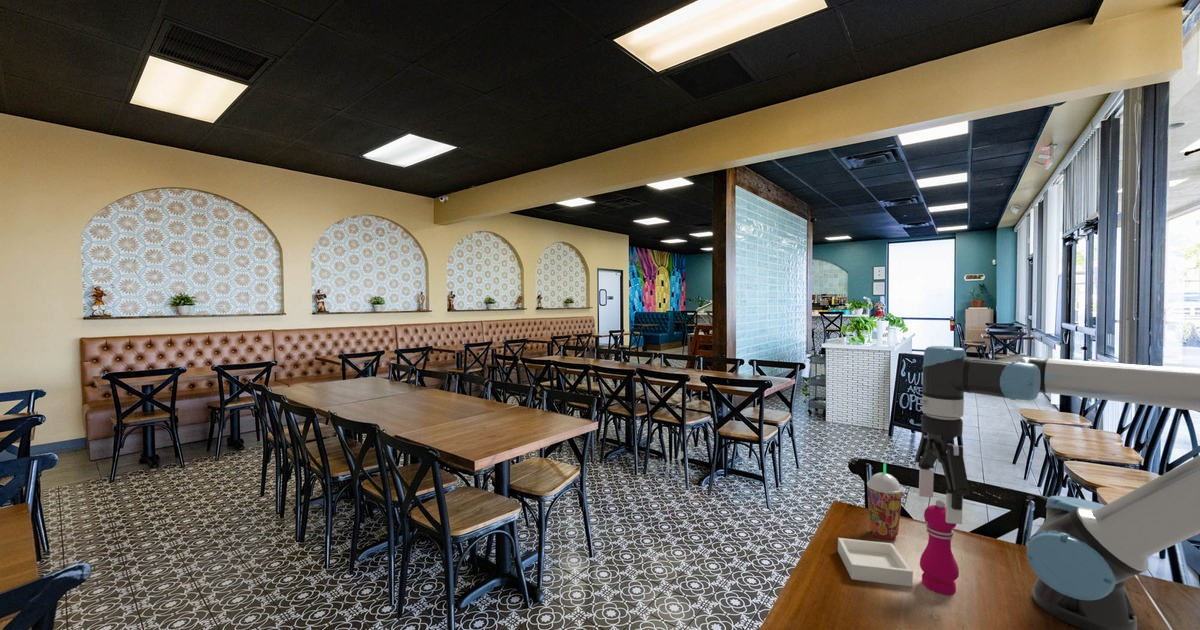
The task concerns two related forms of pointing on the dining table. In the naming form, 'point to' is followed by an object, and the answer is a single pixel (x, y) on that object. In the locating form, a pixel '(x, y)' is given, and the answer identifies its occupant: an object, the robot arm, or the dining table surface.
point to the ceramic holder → (874, 562)
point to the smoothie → (884, 505)
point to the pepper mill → (939, 552)
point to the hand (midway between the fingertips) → (938, 508)
